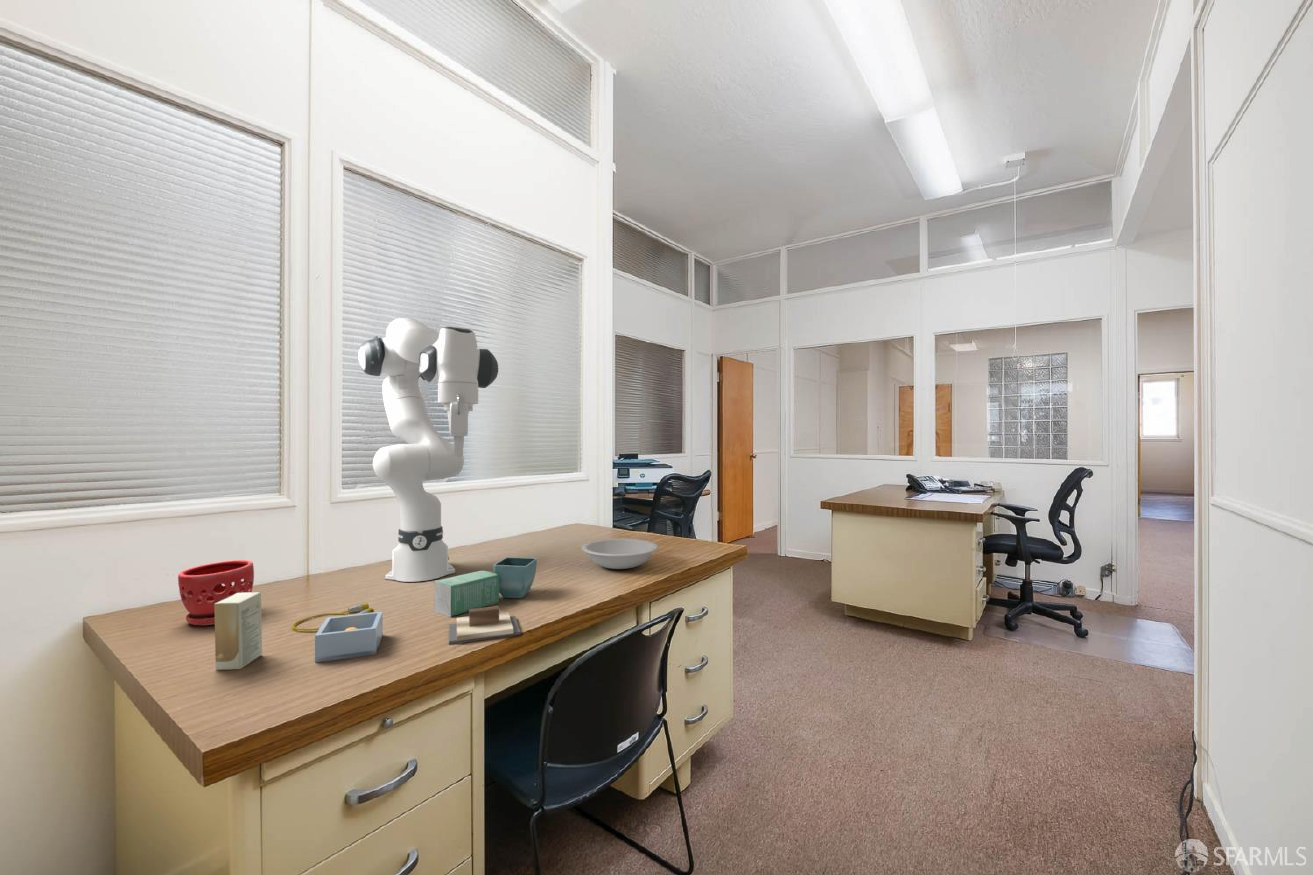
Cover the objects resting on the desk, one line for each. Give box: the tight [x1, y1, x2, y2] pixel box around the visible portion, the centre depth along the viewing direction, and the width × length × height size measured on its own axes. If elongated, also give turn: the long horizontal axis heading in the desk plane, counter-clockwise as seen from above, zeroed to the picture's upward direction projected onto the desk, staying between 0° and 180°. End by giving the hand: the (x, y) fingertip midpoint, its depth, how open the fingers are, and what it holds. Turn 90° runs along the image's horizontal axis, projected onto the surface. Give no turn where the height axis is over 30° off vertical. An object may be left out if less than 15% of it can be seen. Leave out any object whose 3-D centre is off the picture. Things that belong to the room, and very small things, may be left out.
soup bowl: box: [581, 537, 659, 570], centre depth 165 cm, size 24×24×7 cm
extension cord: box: [291, 602, 375, 633], centre depth 117 cm, size 12×16×2 cm
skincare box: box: [214, 591, 263, 671], centre depth 96 cm, size 6×4×12 cm
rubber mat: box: [448, 615, 522, 645], centre depth 112 cm, size 10×14×1 cm
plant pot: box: [177, 559, 255, 626], centre depth 118 cm, size 13×13×12 cm
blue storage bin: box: [314, 611, 384, 663], centre depth 103 cm, size 10×10×5 cm
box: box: [433, 570, 500, 618], centre depth 127 cm, size 7×14×8 cm, turn 143°
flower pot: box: [493, 556, 538, 599], centre depth 135 cm, size 9×9×9 cm
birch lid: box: [456, 605, 513, 641], centre depth 112 cm, size 11×11×4 cm
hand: (458, 455), depth 122 cm, fingers open, 8 cm apart
